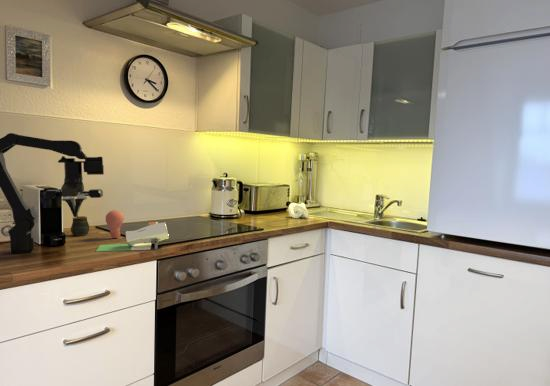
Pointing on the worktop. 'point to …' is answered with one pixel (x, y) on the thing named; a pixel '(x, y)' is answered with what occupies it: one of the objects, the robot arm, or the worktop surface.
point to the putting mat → (125, 246)
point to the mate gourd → (80, 226)
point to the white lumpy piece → (297, 210)
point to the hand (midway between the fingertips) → (75, 216)
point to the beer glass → (147, 234)
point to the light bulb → (114, 222)
